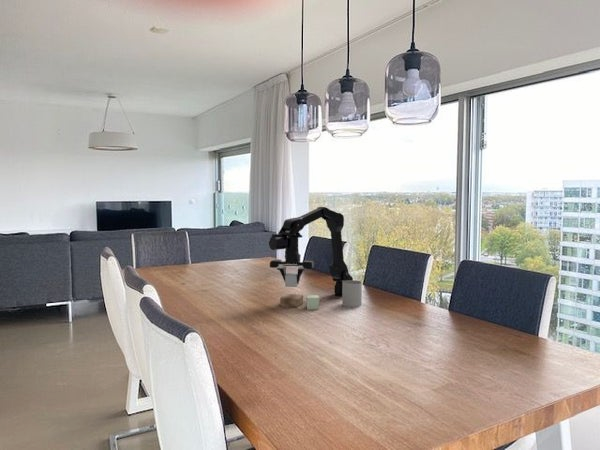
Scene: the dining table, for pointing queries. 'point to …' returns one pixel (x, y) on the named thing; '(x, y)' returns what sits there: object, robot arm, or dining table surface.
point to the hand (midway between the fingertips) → (291, 283)
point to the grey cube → (291, 280)
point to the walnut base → (291, 300)
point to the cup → (352, 293)
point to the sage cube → (312, 302)
